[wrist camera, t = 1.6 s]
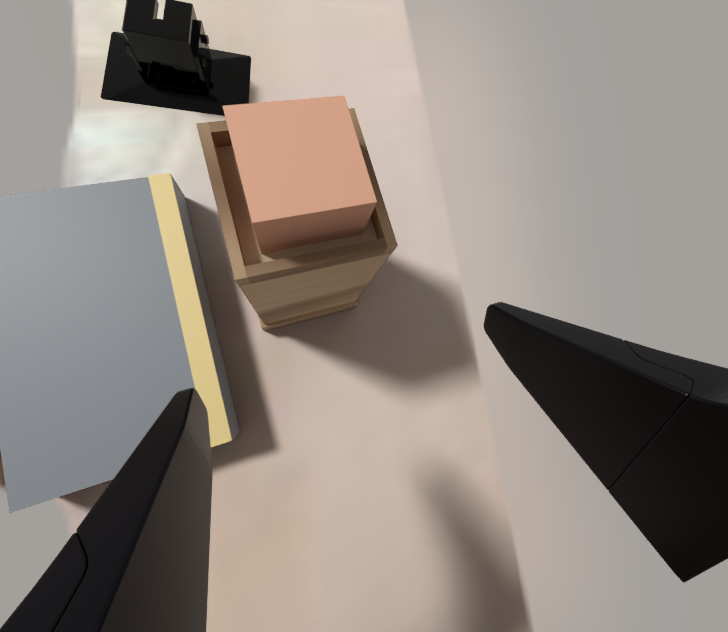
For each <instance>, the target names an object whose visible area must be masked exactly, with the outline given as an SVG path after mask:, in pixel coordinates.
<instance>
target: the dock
mask: <svg viewBox="0 0 728 632" xmlns="http://www.w3.org/2000/svg"><path fill="white" fill-rule="evenodd" d="M188 388H195V389H196V390H197V392H198V394H199V396H200V397H201V399H202V401H203V403H204V404H205V406H206V409H207V413H208V421H209V433H210V444H211V447H214V446H217V445H220V444H223V443H226V442H229V441H232V440H233V439H234V438H235V437H236V436H237V435H238V434H239V433H240V429H239V425H238V421H237V416H236V412H235V408H234V403H233V399H232V395H231V391H230V386H229V382H228V378H227V374H226V369H225V365H224V361H223V357H222V352H221V348H220V344H219V340H218V335H217V331H216V327H215V323H214V318H213V314H212V310H211V306H210V301H209V297H208V293H207V288H206V284H205V280H204V276H203V271H202V267H201V263H200V259H199V254H198V250H197V246H196V242H195V237H194V233H193V229H192V225H191V220H190V216H189V212H188V208H187V203H186V199H185V196H184V194H183V193H182V191H181V190H180V188H179V186H178V185H177V183H176V182H175V180H174V178H173V177H172V175H171V174H170V173H167V174H160V175H152V176H148V177H145V178H137V179H130V180H122V181H114V182H106V183H99V184H91V185H83V186H76V187H68V188H60V189H53V190H45V191H37V192H29V193H22V194H14V195H7V196H0V449H1V456H2V463H3V470H4V477H5V484H6V491H7V498H8V505H9V511H10V513H11V512H14V511H17V510H20V509H23V508H26V507H30V506H33V505H35V504H39V503H42V502H45V501H48V500H51V499H54V498H57V497H60V496H63V495H66V494H69V493H73V492H76V491H79V490H82V489H85V488H88V487H91V486H94V485H97V484H100V483H103V482H106V481H109V480H112V479H114V477H115V476H116V475H117V473H118V472H119V470H120V469H121V468H122V466H123V465H124V463H125V462H126V461H127V459H128V458H129V457H130V455H131V454H132V452H133V451H134V450H135V448H136V447H137V446H138V444H139V443H140V441H141V440H142V439H143V437H144V436H145V435H146V433H147V432H148V430H149V429H150V428H151V426H152V425H153V424H154V422H155V421H156V419H157V418H158V417H159V415H160V414H161V413H162V411H163V410H164V408H165V407H166V406H167V404H168V403H169V402H170V400H171V399H172V397H173V396H174V395H175V394H176V393H177V392H178V391H181V390H185V389H188Z"/></svg>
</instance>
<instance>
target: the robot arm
mask: <svg viewBox="0 0 728 632" xmlns="http://www.w3.org/2000/svg"><path fill="white" fill-rule="evenodd" d="M484 330H485V332H486V333H487V335H488V336H489V338H490V340H491V341H492V342H493V344H494V346H495V347H496V349H497V350H498V352H499V353H500V355H501V357H502V358H503V359H504V361H505V363H506V364H507V365H508V367H509V368H510V370H511V371H512V372H513V374H514V375H515V376H516V377H517V378H518V380H519V381H520V382H521V383H522V384H523V386H524V387H525V388H526V390H527V391H528V392H529V393H530V395H531V396H532V397H533V398H534V400H535V401H536V402H537V403H538V404H539V405H540V407H541V408H542V409H543V411H544V412H545V413H546V414H547V416H548V417H549V418H550V419H551V421H552V422H553V423H554V424H555V425H556V427H557V428H558V429H559V430H560V432H561V433H562V434H563V435H564V437H565V438H566V439H567V440H568V442H569V443H570V444H571V445H572V447H574V449H575V450H576V451H577V453H578V454H579V455H580V456H581V458H582V459H583V460H584V461H585V463H586V464H587V465H588V466H589V468H590V469H591V470H592V471H593V473H594V474H595V475H596V476H597V477H598V479H599V480H600V481H601V482H602V484H603V485H604V486H605V487H606V489H608V490H609V493H610V494H611V495H612V496H613V498H614V499H615V500H616V501H617V502H618V504H619V505H620V506H621V507H622V509H623V510H624V511H625V512H626V514H627V515H628V516H629V517H630V518H631V520H632V521H633V522H634V524H635V525H636V526H637V527H638V529H639V530H640V531H641V532H642V533H643V535H644V536H645V537H646V538H647V540H648V541H649V542H650V543H651V545H652V546H653V547H654V548H655V550H657V552H658V553H659V555H660V556H661V557H662V558H663V559H664V561H665V562H666V563H667V564H668V566H669V567H670V568H671V569H672V570H673V572H674V573H675V574H676V575H677V576H678V577H679V578H680V580H681V581H682V582H686V581H688V580H690V579H692V578H694V577H695V576H697V575H699V574H701V573H702V572H704V571H706V570H708V569H710V568H711V567H713V566H715V565H717V564H719V563H720V562H722V561H724V560H726V559H728V368H724V367H720V366H716V365H712V364H708V363H704V362H700V361H697V360H693V359H689V358H685V357H681V356H678V355H674V354H670V353H666V352H663V351H659V350H656V349H652V348H649V347H646V346H642V345H639V344H636V343H632V342H629V341H626V340H624V341H623V340H622V339H619V338H616V337H613V336H610V335H606V334H603V333H600V332H596V331H593V330H590V329H587V328H584V327H580V326H577V325H574V324H571V323H567V322H564V321H561V320H558V319H555V318H551V317H548V316H545V315H541V314H538V313H535V312H532V311H528V310H525V309H522V308H519V307H516V306H512V305H509V304H506V303H503V302H498V303H495V304H491V305H489V306H488V308H487V311H486V316H485V321H484ZM211 496H212V456H211V444H210V433H209V421H208V413H207V409H206V406H205V404H204V403H203V401H202V399H201V397H200V396H199V394H198V392H197V390H196V389H195V388H188V389H185V390H181V391H178V392H177V393H176V394H175V395H174V396H173V397H172V399H171V400H170V402H169V403H168V404H167V406H166V407H165V408H164V410H163V411H162V413H161V414H160V415H159V417H158V418H157V419H156V421H155V422H154V424H153V425H152V426H151V428H150V429H149V430H148V432H147V433H146V435H145V436H144V437H143V439H142V440H141V441H140V443H139V444H138V446H137V447H136V448H135V450H134V451H133V452H132V454H131V455H130V457H129V458H128V459H127V461H126V462H125V463H124V465H123V466H122V468H121V469H120V470H119V472H118V473H117V475H116V476H115V477H114V479H113V480H112V481H111V483H110V484H109V486H108V487H107V488H106V490H105V491H104V492H103V494H102V495H101V497H100V498H99V499H98V501H97V502H96V503H95V505H94V506H93V508H92V509H91V510H90V512H89V513H88V514H87V516H86V517H85V519H84V520H83V521H82V523H81V524H80V525H79V527H78V528H77V533H74V534H73V535H72V536H71V538H70V539H69V540H68V542H67V543H66V544H65V546H64V547H63V549H62V550H61V551H60V553H59V554H58V555H57V557H56V558H55V560H54V561H53V562H52V563H51V565H50V566H49V567H48V569H47V570H46V571H45V573H44V574H43V575H42V577H41V578H40V579H39V581H38V582H37V583H36V585H35V586H34V587H33V589H32V590H31V591H30V592H29V594H28V595H27V596H26V597H25V598H24V600H23V601H22V602H21V603H20V605H19V606H18V607H17V609H16V610H15V611H14V612H13V613H12V615H11V616H10V617H9V618H8V620H7V621H6V622H5V623H4V625H3V626H2V627H1V628H0V632H206V619H207V594H208V570H209V545H210V521H211Z"/></svg>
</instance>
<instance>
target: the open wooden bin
mask: <svg viewBox="0 0 728 632" xmlns="http://www.w3.org/2000/svg"><path fill="white" fill-rule="evenodd" d="M349 113H350V116H351V119H352V122H353V126H354V129H355V132H356V135H357V139H358V142H359V145H360V148H361V152H362V155H363V158H364V161H365V165H366V168H367V171H368V174H369V178H370V181H371V184H372V187H373V191H374V194H375V197H376V200H377V203H376V205H375V208H374V210H373V212H372V214H371V216H370V219H369V221H368V223H367V225H366V227H365V230H364V232H363V234H362V235H357V236H351V237H346V238H341V239H336V240H331V241H325V242H320V243H315V244H310V245H304V246H299V247H294V248H289V249H284V250H278V251H273V252H268V253H263V254H261V251H260V248H259V244H258V241H257V238H256V234H255V231H254V228H253V224H252V221H251V217H250V213H249V209H248V205H247V201H246V197H245V193H244V189H243V185H242V181H241V177H240V173H239V169H238V165H237V161H236V158H235V154H234V150H233V146H232V142H231V138H230V134H229V130H228V126H227V122H226V121H217V122H207V123H197V128H198V132H199V136H200V140H201V144H202V148H203V152H204V157H205V161H206V165H207V169H208V173H209V177H210V181H211V185H212V189H213V193H214V197H215V201H216V205H217V209H218V213H219V217H220V221H221V225H222V229H223V233H224V237H225V242H226V246H227V250H228V254H229V258H230V262H231V266H232V270H233V274H234V278H235V281H236V282H237V284H238V285H239V287H240V288H241V290H242V291H243V293H244V294H245V296H246V297H247V299H248V300H249V302H250V303H251V305H252V307H253V308H254V310H255V311H256V313H257V314H258V316H259V319H260V323H261V327H262V329H263V330H268V329H272V328H276V327H280V326H284V325H288V324H292V323H296V322H300V321H304V320H308V319H312V318H315V317H319V316H323V315H327V314H331V313H335V312H339V311H343V310H347V309H351V308H355V307H356V306H357V305H358V300H357V298H358V297H359V295H360V294H361V293H362V291H363V290H364V289H365V288H366V286H367V285H368V284H369V282H370V281H371V280H372V278H373V277H374V276H375V274H376V273H377V272H378V270H379V269H380V268H381V267H382V265H383V264H384V263H385V261H386V260H387V259H388V257H389V256H390V255H391V253H392V252H393V251H394V249H395V248H396V247H397V246H398V245H397V242H396V239H395V236H394V233H393V230H392V226H391V223H390V220H389V217H388V214H387V211H386V208H385V204H384V201H383V198H382V195H381V192H380V189H379V185H378V182H377V179H376V176H375V173H374V170H373V166H372V163H371V160H370V157H369V154H368V151H367V147H366V144H365V141H364V138H363V135H362V132H361V128H360V125H359V122H358V119H357V116H356V113H355V109H354V108H352V109H349Z"/></svg>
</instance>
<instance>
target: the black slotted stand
mask: <svg viewBox="0 0 728 632" xmlns="http://www.w3.org/2000/svg"><path fill="white" fill-rule="evenodd" d="M158 5H159V4H158V1H157V0H126V7H125V13H124V20H123V26H122V31H123V33H119V32H112V34H111V40H110V46H109V52H108V57H107V63H106V69H105V75H104V81H103V87H102V93H101V98H102V99H106V100H113V101H120V102H128V103H135V104H142V105H150V106H157V107H164V108H172V109H179V110H186V111H194V112H201V113H208V114H216V115H223V116H225V114H224V110H223V106H225V105H238V104H248V103H249V86H250V68H251V57H250V56H246V55H241V54H235V53H230V52H224V51H219V50H213V49H209V46H208V44H209V38H208V35H205V31H204V28H203V24H202V21H199V20H197V18H196V15H195V11H194V8H193V5H192V4H190V3H185V2H180V1H175V0H166V1H165V9H164V17H163V20H161V19H157V13H158Z"/></svg>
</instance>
